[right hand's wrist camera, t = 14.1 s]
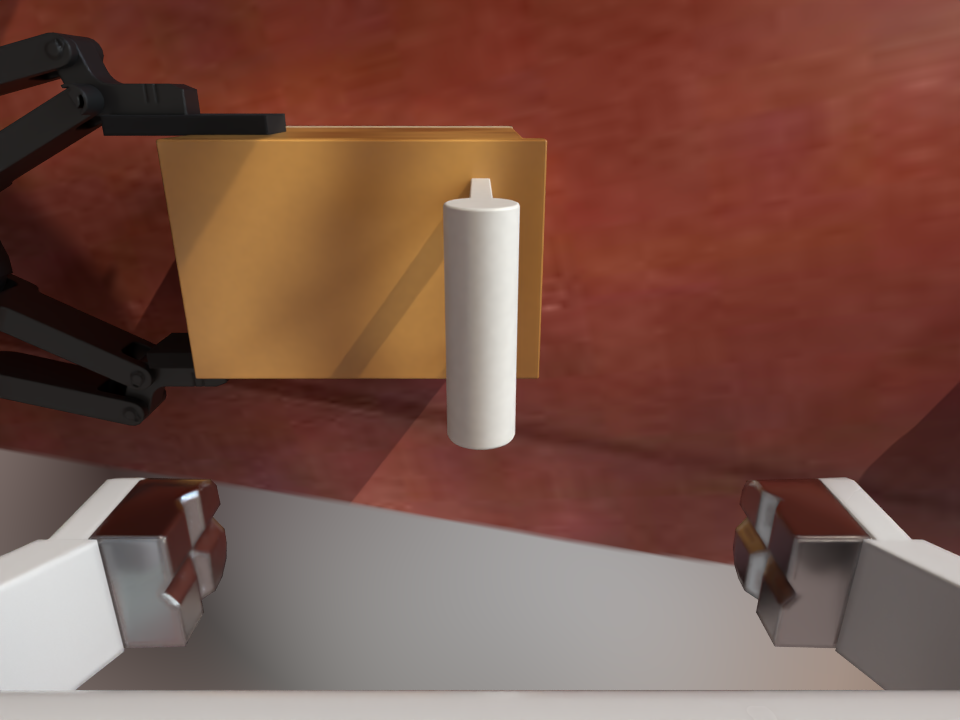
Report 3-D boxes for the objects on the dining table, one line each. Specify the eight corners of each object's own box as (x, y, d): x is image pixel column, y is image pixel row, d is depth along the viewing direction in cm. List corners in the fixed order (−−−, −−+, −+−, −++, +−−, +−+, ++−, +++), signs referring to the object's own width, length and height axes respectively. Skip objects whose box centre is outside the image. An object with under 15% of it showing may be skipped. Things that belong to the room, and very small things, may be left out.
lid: (544, 138, 25) (578, 159, 16) (537, 370, 28) (561, 486, 20) (165, 137, 25) (7, 159, 16) (203, 371, 28) (88, 486, 20)
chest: (511, 126, 34) (524, 137, 25) (508, 302, 37) (518, 370, 28) (250, 126, 34) (165, 137, 25) (271, 302, 37) (203, 370, 28)
